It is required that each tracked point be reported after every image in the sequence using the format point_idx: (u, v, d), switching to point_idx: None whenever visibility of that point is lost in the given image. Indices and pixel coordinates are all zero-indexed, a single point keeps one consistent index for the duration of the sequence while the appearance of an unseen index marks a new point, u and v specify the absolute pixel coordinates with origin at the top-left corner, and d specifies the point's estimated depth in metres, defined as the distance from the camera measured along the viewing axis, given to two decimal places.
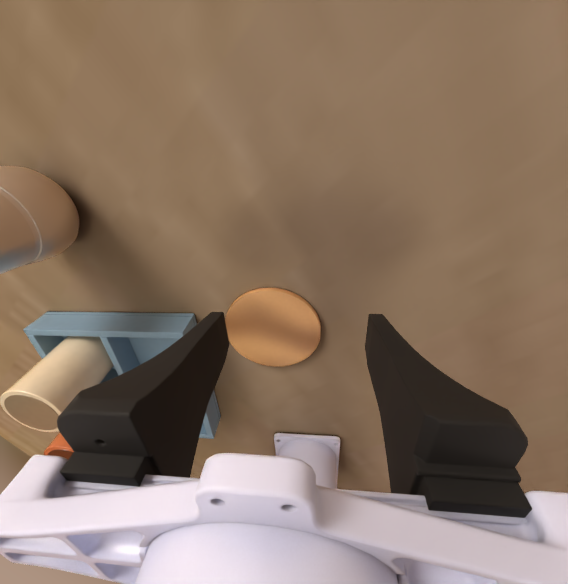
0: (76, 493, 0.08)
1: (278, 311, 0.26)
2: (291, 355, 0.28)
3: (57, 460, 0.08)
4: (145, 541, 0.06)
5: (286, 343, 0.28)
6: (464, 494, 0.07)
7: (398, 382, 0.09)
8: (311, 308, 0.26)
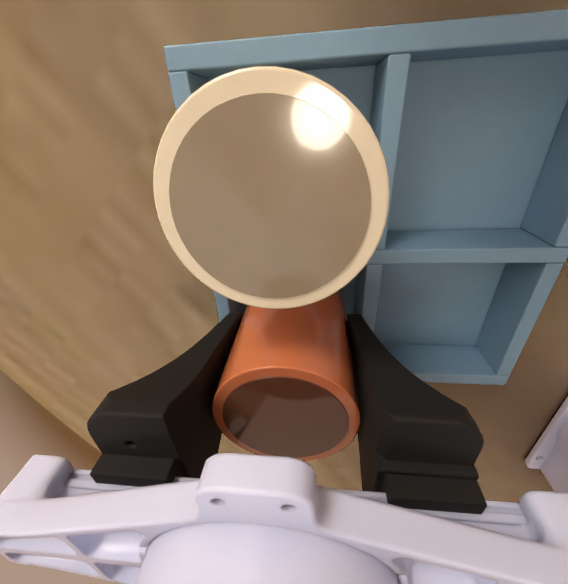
0: (76, 493, 0.08)
1: None
2: None
3: (57, 460, 0.08)
4: (145, 541, 0.06)
5: None
6: (422, 491, 0.07)
7: (367, 380, 0.09)
8: None
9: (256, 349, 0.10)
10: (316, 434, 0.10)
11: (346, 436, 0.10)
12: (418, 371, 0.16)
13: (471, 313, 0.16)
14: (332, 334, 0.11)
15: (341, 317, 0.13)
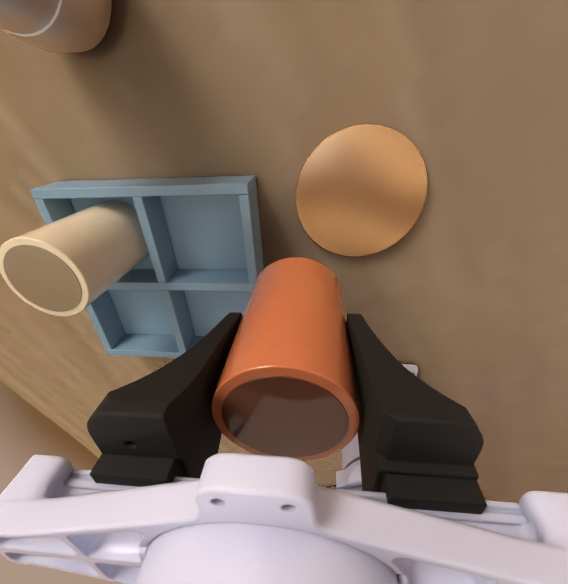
0: (76, 493, 0.08)
1: (374, 161, 0.19)
2: (378, 237, 0.22)
3: (57, 460, 0.08)
4: (145, 541, 0.06)
5: (375, 217, 0.21)
6: (422, 491, 0.07)
7: (367, 380, 0.09)
8: (420, 155, 0.19)
9: (255, 348, 0.10)
10: (315, 434, 0.10)
11: (346, 436, 0.10)
12: None
13: None
14: (332, 334, 0.11)
15: (341, 317, 0.13)
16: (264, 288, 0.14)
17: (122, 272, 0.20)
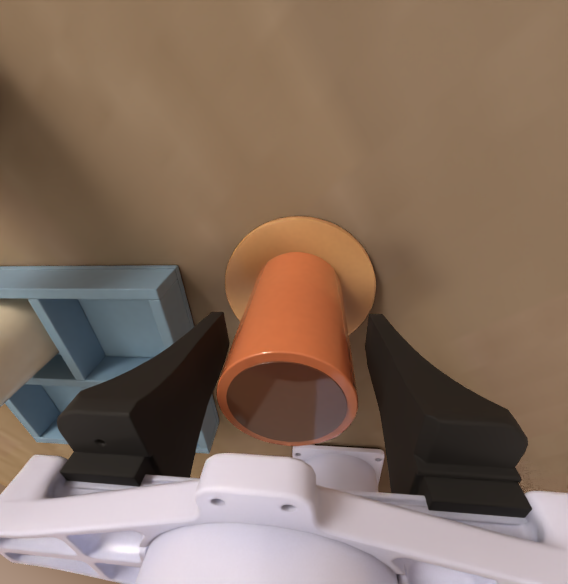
0: (76, 493, 0.08)
1: None
2: None
3: (57, 460, 0.08)
4: (145, 541, 0.06)
5: None
6: (464, 494, 0.07)
7: (399, 382, 0.09)
8: (364, 251, 0.16)
9: (259, 336, 0.10)
10: (316, 418, 0.11)
11: (345, 420, 0.11)
12: None
13: None
14: (332, 323, 0.11)
15: (340, 308, 0.13)
16: (266, 281, 0.14)
17: (21, 382, 0.17)
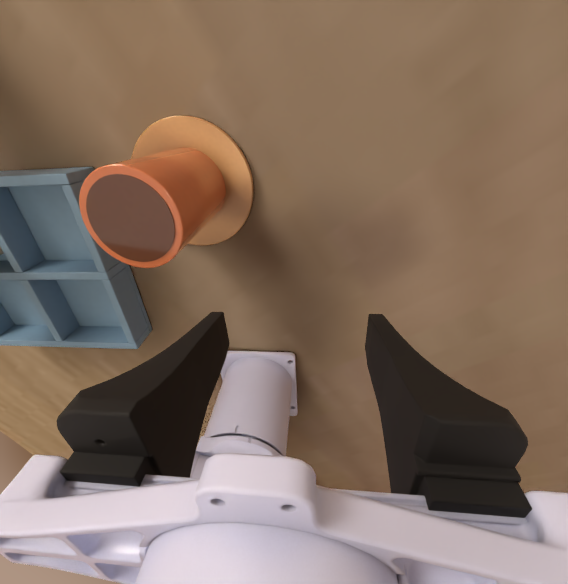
0: (76, 493, 0.08)
1: None
2: (220, 226, 0.23)
3: (57, 460, 0.08)
4: (145, 541, 0.06)
5: None
6: (464, 494, 0.07)
7: (399, 382, 0.09)
8: (236, 145, 0.20)
9: None
10: (155, 233, 0.15)
11: (176, 233, 0.15)
12: (89, 341, 0.27)
13: None
14: (174, 169, 0.15)
15: (198, 174, 0.17)
16: None
17: None
